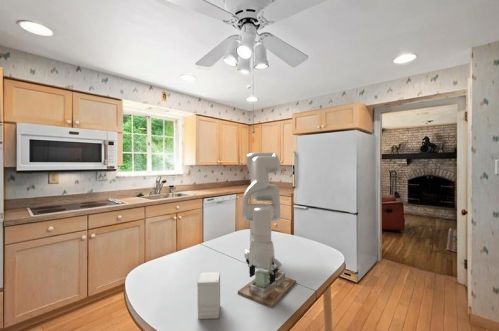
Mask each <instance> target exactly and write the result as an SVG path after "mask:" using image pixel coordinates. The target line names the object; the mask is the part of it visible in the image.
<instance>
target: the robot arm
mask: <svg viewBox="0 0 499 331" xmlns="http://www.w3.org/2000/svg"><path fill="white" fill-rule="evenodd" d="M245 157H246V158H245V159H246V160H245V161H246V166H247V169H248V172H249V175H250V185H249V186H247V188H246V189H245V190H244V193H243V195H242V199H241V217H242V219H243V221H246V222H247V221H248V222H249V250H248V249H245V252H244V258H245V262H246V263H247V267H248V269H249V270H248V273H249V277H250V278H253V277H254V276H255V272H256V267H258V268H259V269H260V268H261V269H264V270H269V271H270V273H271V274H270V284H273V283H274V282H275V280H276V272H277V271H280V269H281V267H282V263H281V261H279V260H278V259H277V258H276V257H275V247H274V242H273V241H272V222H278V221H279V220H280V219H281V194H280V188H279V186H278V185H277V184H274V183H273V184H271V183H270V178H269V176H270V173H279V172H280V169H281V160H280V157H279V156H278V154H277V153H276V152H250V153H248V154H247V155H246V156H245ZM250 197H251V199H252V200H253V201H255V202H270V203H249V198H250ZM275 265H276V266H275ZM272 269H273V270H272Z"/></svg>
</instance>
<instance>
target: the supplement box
mask: <svg viewBox="0 0 499 331" xmlns="http://www.w3.org/2000/svg"><path fill="white" fill-rule="evenodd" d="M196 286H197V319H198V320H200V319H201V320H203V319H205V320H206V319H210V320H211V319H219V318H220V312H221V311H220V310H221V272H218V271H217V272H201V273H200V275H199V278H198V281H197V285H196Z"/></svg>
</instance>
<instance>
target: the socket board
mask: <svg viewBox="0 0 499 331" xmlns="http://www.w3.org/2000/svg"><path fill="white" fill-rule="evenodd" d="M267 270H268V271H269V269H267ZM272 270H273V269H272ZM270 274H271V273H270V271H269V286H268V287H266V288H265V289H263V288H260V287H257V286H255V278H254V279H252V280H251V281H250V282H248V283H247V284H245V285H244V286H243V287H241V288H240V289H238V290H237V295H240V296H242V297H245V298H247V299H249V300H252V301H253V302H256V303H259V304H261V305H264V306H265V307H266V306H267V307H269V308H271V309H272V308H273V307H275V305H277V303H278V302H279V301H281V299H282V298H283V297H285V295H286V294H287V293H288V292H289V291H290V290H291V289H292V288H293V287H294V286H295V285H296V284H297V280H295V279H292V278H290V277H286V272H283V271H280V270H278V271H277V272H276V280H275V282H274V283H273V284H270Z"/></svg>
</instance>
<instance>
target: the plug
mask: <svg viewBox="0 0 499 331" xmlns="http://www.w3.org/2000/svg"><path fill="white" fill-rule="evenodd" d="M268 270H269V269H264V268H260V267H259V269H258V270H255V275H254V276H255V278H254V279H255V286H257V287H260V288H263V289H265V288H266V287H268V286H269V271H268Z"/></svg>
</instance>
